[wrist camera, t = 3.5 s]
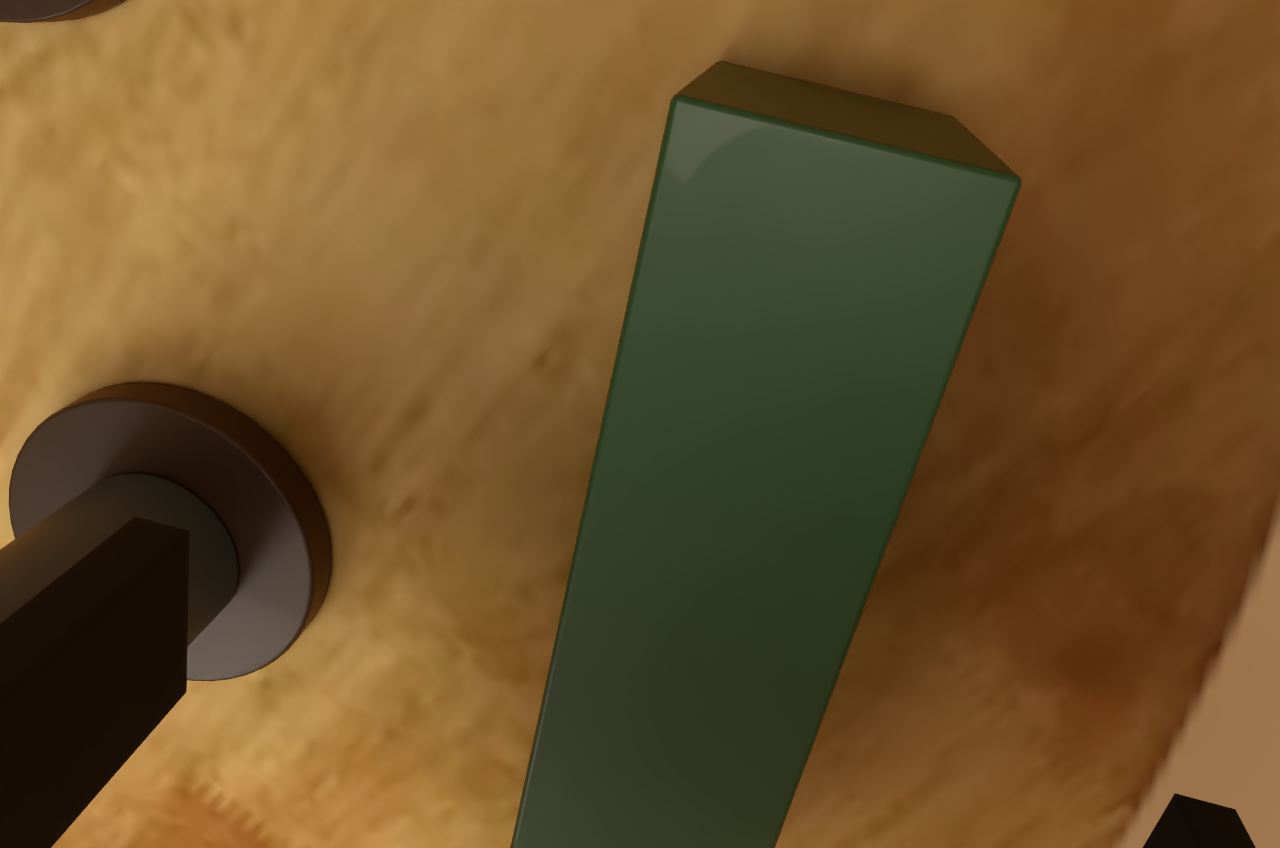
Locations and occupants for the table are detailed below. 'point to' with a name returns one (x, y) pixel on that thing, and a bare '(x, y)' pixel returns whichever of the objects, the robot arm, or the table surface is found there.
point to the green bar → (753, 451)
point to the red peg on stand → (51, 9)
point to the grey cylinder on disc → (175, 515)
